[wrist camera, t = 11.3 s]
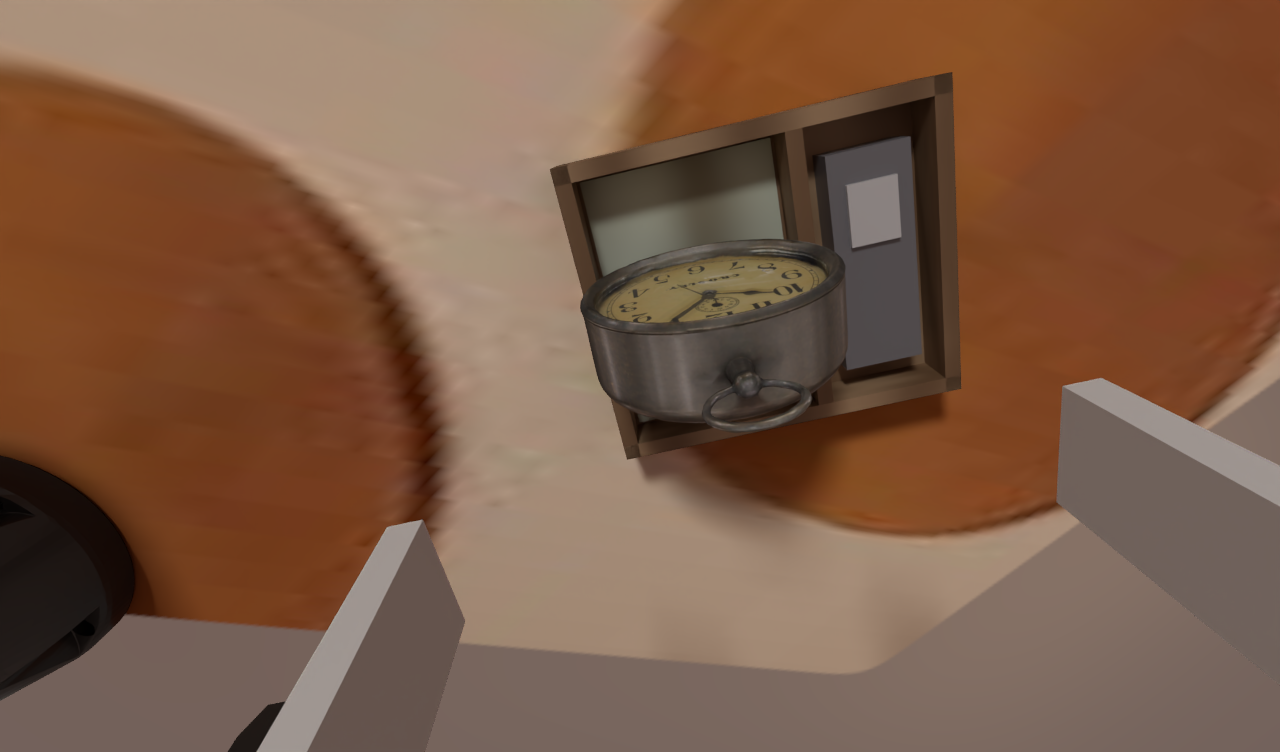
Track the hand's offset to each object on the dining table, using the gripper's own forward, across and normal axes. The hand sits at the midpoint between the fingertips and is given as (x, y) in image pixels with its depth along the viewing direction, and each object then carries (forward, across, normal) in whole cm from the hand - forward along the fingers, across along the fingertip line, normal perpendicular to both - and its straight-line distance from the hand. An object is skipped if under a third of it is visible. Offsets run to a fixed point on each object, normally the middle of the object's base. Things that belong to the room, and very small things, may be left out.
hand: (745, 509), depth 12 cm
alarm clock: (+21, +2, -1) cm, 21 cm away
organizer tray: (+22, +5, -1) cm, 23 cm away
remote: (+21, +10, -1) cm, 24 cm away
